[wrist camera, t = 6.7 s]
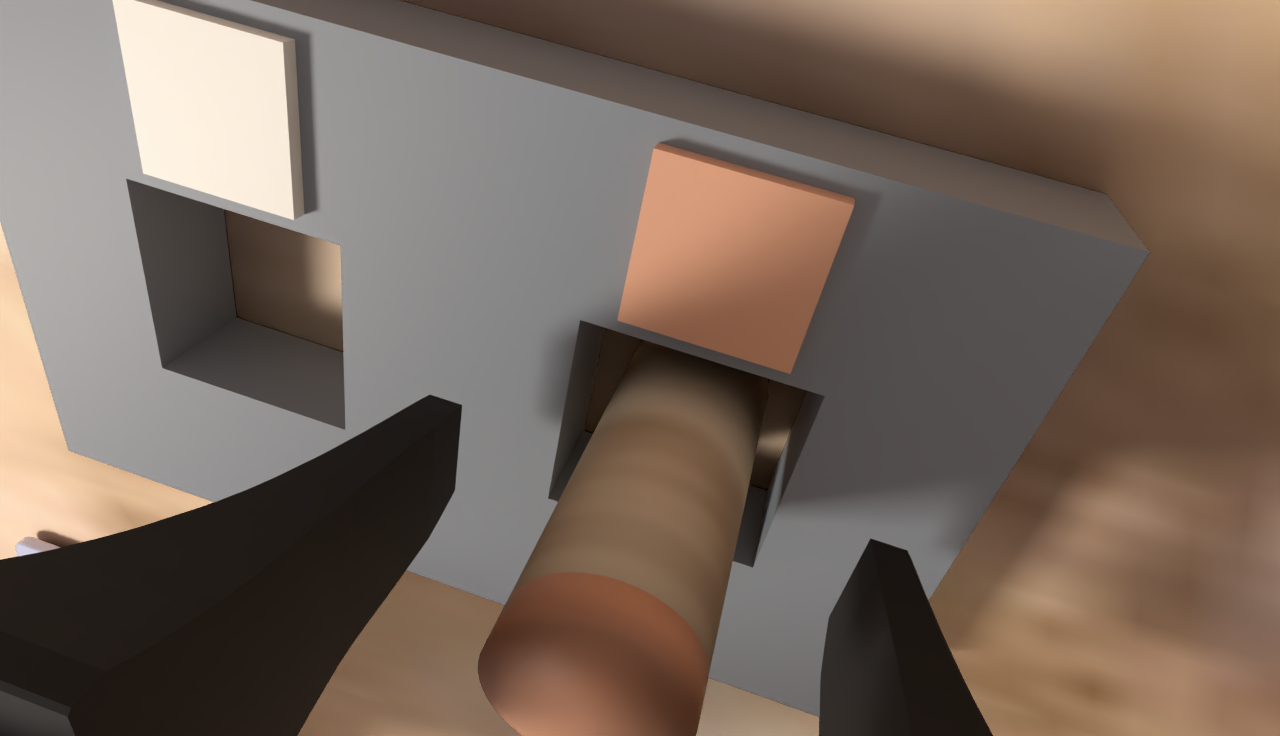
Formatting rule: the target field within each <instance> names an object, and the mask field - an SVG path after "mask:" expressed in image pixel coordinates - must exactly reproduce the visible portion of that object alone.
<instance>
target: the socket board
mask: <svg viewBox="0 0 1280 736" xmlns="http://www.w3.org/2000/svg"><path fill="white" fill-rule="evenodd" d="M224 209H226V210H229V211H232V212H235V213H238V214H242V215H245V216H248V217H251V218H254V219H258V220H261V221H264V222H267V223H270V224H274V225H277V226H280V227H283V228H287V229H290V230H293V231H296V232H299V233H303V234H306V235H309V236H312V237H315V238H319V239H322V240H325V241H328V242H331V243H335V244H338V245H341V281H342V318H343V352H341V351H338V350H334V349H331V348H328V347H325V346H322V345H319V344H316V343H313V342H310V341H307V340H304V339H301V338H298V337H295V336H292V335H289V334H286V333H282V332H279V331H276V330H273V329H270V328H267V327H264V326H261V325H258V324H255V323H252V322H249V321H246V320H243V319H240V318H237V317H236V309H235V301H234V292H233V284H232V275H231V267H230V258H229V250H228V241H227V233H226V224H225V216H224ZM0 222H1V225H2V229H3V232H4V235H5V239H6V242H7V245H8V249H9V252H10V255H11V259H12V262H13V266H14V269H15V272H16V276H17V279H18V282H19V286H20V289H21V292H22V296H23V299H24V303H25V306H26V309H27V313H28V316H29V319H30V323H31V326H32V329H33V333H34V336H35V340H36V343H37V346H38V350H39V353H40V356H41V360H42V363H43V366H44V370H45V373H46V377H47V380H48V383H49V387H50V390H51V393H52V397H53V400H54V403H55V407H56V410H57V413H58V417H59V420H60V424H61V427H62V430H63V434H64V437H65V440H66V444H67V447H68V450H69V451H71V452H74V453H77V454H80V455H82V456H85V457H88V458H91V459H94V460H96V461H99V462H102V463H105V464H108V465H111V466H113V467H116V468H119V469H122V470H125V471H127V472H130V473H133V474H136V475H139V476H142V477H144V478H147V479H150V480H153V481H156V482H158V483H161V484H164V485H167V486H170V487H173V488H175V489H178V490H181V491H184V492H187V493H189V494H192V495H195V496H198V497H201V498H204V499H206V500H209V501H212V502H216V501H219V500H222V499H224V498H227V497H229V496H232V495H234V494H237V493H240V492H242V491H245V490H247V489H249V488H252V487H254V486H256V485H259V484H261V483H263V482H266V481H268V480H270V479H272V478H274V477H277V476H279V475H281V474H283V473H285V472H287V471H289V470H291V469H293V468H295V467H297V466H299V465H301V464H303V463H305V462H308V461H310V460H312V459H314V458H316V457H318V456H320V455H322V454H324V453H325V452H327V451H329V450H331V449H333V448H335V447H337V446H338V445H340V444H342V443H344V442H346V441H348V440H350V439H351V438H353V437H355V436H357V435H359V434H361V433H362V432H364V431H366V430H368V429H369V428H371V427H373V426H375V425H377V424H378V423H380V422H382V421H384V420H385V419H387V418H389V417H390V416H392V415H394V414H396V413H397V412H399V411H401V410H403V409H404V408H406V407H408V406H410V405H411V404H413V403H415V402H417V401H419V400H420V399H422V398H424V397H426V396H428V395H433V396H436V397H439V398H442V399H445V400H448V401H451V402H455V403H458V404H461V405H462V414H461V426H460V437H459V449H458V461H457V473H456V485H455V491H454V493H453V495H452V497H451V499H450V501H449V503H448V504H447V506H446V508H445V510H444V512H443V514H442V516H441V518H440V519H439V521H438V523H437V525H436V526H435V528H434V530H433V532H432V533H431V535H430V537H429V539H428V540H427V542H426V543H425V544H424V546H423V547H422V549H421V550H420V551H419V553H418V554H417V556H416V557H415V558H414V560H413V561H412V563H411V564H410V565H409V567H408V568H407V569H406V571H409V572H412V573H415V574H418V575H421V576H423V577H426V578H429V579H432V580H435V581H437V582H440V583H443V584H446V585H449V586H452V587H454V588H457V589H460V590H463V591H466V592H468V593H471V594H474V595H477V596H480V597H483V598H485V599H488V600H491V601H494V602H497V603H499V604H502V605H505V604H506V602H507V600H508V598H509V596H510V594H511V593H512V591H513V589H514V587H515V585H516V583H517V581H518V579H519V577H520V575H521V573H522V571H523V569H524V567H525V565H526V563H527V561H528V559H529V558H530V556H531V554H532V552H533V550H534V548H535V546H536V544H537V542H538V540H539V538H540V536H541V534H542V532H543V530H544V528H545V526H546V524H547V522H548V521H549V519H550V517H551V515H552V513H553V511H554V509H555V507H556V505H557V503H558V501H559V499H560V497H561V495H562V493H563V491H564V489H565V487H566V486H567V484H568V482H569V480H570V478H571V476H572V474H573V472H574V470H575V468H576V466H577V464H578V462H579V460H580V458H581V456H582V454H583V452H584V450H585V449H586V447H587V445H588V443H589V441H590V439H591V437H592V435H593V434H592V433H588V432H585V431H584V428H585V423H586V418H587V413H588V408H589V403H590V398H591V393H592V388H593V383H594V379H595V374H596V369H597V364H598V359H599V354H600V349H601V344H602V339H603V334H604V329H605V328H608V329H611V330H614V331H617V332H620V333H624V334H627V335H630V336H633V337H636V338H640V339H643V340H646V341H649V342H652V343H656V344H659V345H662V346H665V347H668V348H672V349H675V350H678V351H681V352H685V353H688V354H691V355H694V356H697V357H701V358H704V359H707V360H710V361H713V362H717V363H720V364H723V365H726V366H729V367H733V368H736V369H739V370H742V371H746V372H749V373H752V374H755V375H758V376H762V377H765V378H768V379H771V380H774V381H778V382H781V383H784V384H787V385H790V386H794V387H797V388H800V389H803V390H807V392H806V394H805V397H804V399H803V402H802V404H801V407H800V409H799V412H798V414H797V417H796V419H795V422H794V424H793V427H792V429H791V432H790V434H789V437H788V439H787V442H786V444H785V447H784V449H783V452H782V454H781V457H780V459H779V462H778V464H777V467H776V469H775V472H774V474H773V477H772V479H771V482H770V484H769V487H768V489H767V491H766V490H763V489H760V488H757V487H754V486H751V485H749V487H748V492H747V496H746V501H745V506H744V511H743V515H742V520H741V525H740V530H739V534H738V539H737V544H736V549H735V553H734V558H733V563H732V567H731V572H730V577H729V582H728V586H727V591H726V596H725V601H724V605H723V610H722V615H721V620H720V624H719V629H718V634H717V639H716V643H715V648H714V653H713V657H712V662H711V667H710V672H709V676H708V678H711V679H714V680H716V681H719V682H722V683H725V684H728V685H731V686H733V687H736V688H739V689H742V690H745V691H747V692H750V693H753V694H756V695H759V696H762V697H764V698H767V699H770V700H773V701H776V702H778V703H781V704H784V705H787V706H790V707H793V708H795V709H798V710H801V711H804V712H807V713H809V714H812V715H815V716H818V717H820V679H821V668H822V661H823V653H824V646H825V639H826V633H827V626H828V620H829V616H830V614H831V612H832V610H833V608H834V606H835V605H836V603H837V601H838V599H839V597H840V595H841V593H842V591H843V589H844V588H845V586H846V584H847V582H848V580H849V578H850V576H851V574H852V572H853V571H854V569H855V567H856V565H857V563H858V561H859V559H860V557H861V555H862V554H863V552H864V550H865V548H866V546H867V544H868V542H869V540H870V538H871V539H874V540H877V541H880V542H883V543H886V544H889V545H892V546H895V547H898V548H902V549H905V550H907V551H908V553H909V555H910V557H911V559H912V561H913V564H914V566H915V569H916V571H917V574H918V576H919V579H920V581H921V584H922V586H923V589H924V591H925V594H926V596H927V598H928V601H929V599H930V598H931V596H932V594H933V593H934V591H935V590H936V588H937V587H938V585H939V583H940V582H941V580H942V579H943V577H944V576H945V574H946V572H947V571H948V569H949V568H950V566H951V564H952V563H953V561H954V560H955V558H956V557H957V555H958V553H959V552H960V550H961V549H962V547H963V546H964V544H965V542H966V541H967V539H968V538H969V536H970V535H971V533H972V531H973V530H974V528H975V527H976V525H977V524H978V522H979V520H980V519H981V517H982V516H983V514H984V513H985V511H986V509H987V508H988V506H989V505H990V503H991V502H992V500H993V498H994V497H995V495H996V494H997V492H998V491H999V489H1000V487H1001V486H1002V484H1003V483H1004V481H1005V480H1006V478H1007V476H1008V475H1009V473H1010V472H1011V470H1012V468H1013V467H1014V465H1015V464H1016V462H1017V461H1018V459H1019V457H1020V456H1021V454H1022V453H1023V451H1024V450H1025V448H1026V446H1027V445H1028V443H1029V442H1030V440H1031V439H1032V437H1033V435H1034V434H1035V432H1036V431H1037V429H1038V428H1039V426H1040V424H1041V423H1042V421H1043V420H1044V418H1045V417H1046V415H1047V413H1048V412H1049V410H1050V409H1051V407H1052V406H1053V404H1054V402H1055V401H1056V399H1057V398H1058V396H1059V395H1060V393H1061V391H1062V390H1063V388H1064V387H1065V385H1066V383H1067V382H1068V380H1069V379H1070V377H1071V376H1072V374H1073V372H1074V371H1075V369H1076V368H1077V366H1078V365H1079V363H1080V361H1081V360H1082V358H1083V357H1084V355H1085V354H1086V352H1087V350H1088V349H1089V347H1090V346H1091V344H1092V343H1093V341H1094V339H1095V338H1096V336H1097V335H1098V333H1099V332H1100V330H1101V328H1102V327H1103V325H1104V324H1105V322H1106V321H1107V319H1108V317H1109V316H1110V314H1111V313H1112V311H1113V310H1114V308H1115V306H1116V305H1117V303H1118V302H1119V300H1120V298H1121V297H1122V295H1123V294H1124V292H1125V291H1126V289H1127V287H1128V286H1129V284H1130V283H1131V281H1132V280H1133V278H1134V276H1135V275H1136V273H1137V272H1138V270H1139V269H1140V267H1141V265H1142V264H1143V262H1144V261H1145V259H1146V258H1147V256H1148V254H1149V253H1150V252H1149V250H1148V249H1147V247H1146V246H1145V245H1144V243H1143V242H1142V241H1141V239H1140V238H1139V237H1138V235H1137V234H1136V233H1135V231H1134V230H1133V229H1132V227H1131V226H1130V225H1129V223H1128V222H1127V221H1126V219H1125V218H1124V217H1123V215H1122V214H1121V212H1120V211H1119V210H1118V208H1117V207H1116V206H1115V204H1114V203H1113V202H1112V200H1111V199H1110V198H1109V196H1108V195H1107V194H1104V193H1100V192H1097V191H1093V190H1089V189H1086V188H1082V187H1078V186H1075V185H1071V184H1067V183H1064V182H1060V181H1056V180H1053V179H1049V178H1046V177H1042V176H1038V175H1035V174H1031V173H1027V172H1024V171H1020V170H1016V169H1013V168H1009V167H1005V166H1002V165H998V164H994V163H991V162H987V161H984V160H980V159H976V158H973V157H969V156H965V155H962V154H958V153H954V152H951V151H947V150H943V149H940V148H936V147H932V146H929V145H925V144H922V143H918V142H914V141H911V140H907V139H903V138H900V137H896V136H892V135H889V134H885V133H881V132H878V131H874V130H870V129H867V128H863V127H860V126H856V125H852V124H849V123H845V122H841V121H838V120H834V119H830V118H827V117H823V116H819V115H816V114H812V113H808V112H805V111H801V110H797V109H794V108H790V107H787V106H783V105H779V104H776V103H772V102H768V101H765V100H761V99H757V98H754V97H750V96H746V95H743V94H739V93H735V92H732V91H728V90H725V89H721V88H717V87H714V86H710V85H706V84H703V83H699V82H695V81H692V80H688V79H684V78H681V77H677V76H673V75H670V74H666V73H663V72H659V71H655V70H652V69H648V68H644V67H641V66H637V65H633V64H630V63H626V62H622V61H619V60H615V59H611V58H608V57H604V56H600V55H597V54H593V53H590V52H586V51H582V50H579V49H575V48H571V47H568V46H564V45H560V44H557V43H553V42H549V41H546V40H542V39H538V38H535V37H531V36H528V35H524V34H520V33H517V32H513V31H509V30H506V29H502V28H498V27H495V26H491V25H487V24H484V23H480V22H476V21H473V20H469V19H466V18H462V17H458V16H455V15H451V14H447V13H444V12H440V11H436V10H433V9H429V8H425V7H422V6H418V5H414V4H411V3H407V2H404V1H400V0H0Z"/></svg>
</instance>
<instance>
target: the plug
mask: <svg viewBox="0 0 1280 736" xmlns="http://www.w3.org/2000/svg"><path fill="white" fill-rule="evenodd" d="M767 396H768V381H767V378H765V377H762V376H758V375H755V374H752V373H749V372H746V371H742V370H739V369H736V368H733V367H729V366H726V365H723V364H720V363H717V362H713V361H710V360H707V359H704V358H701V357H697V356H694V355H691V354H688V353H685V352H681V351H678V350H675V349H672V348H668V347H665V346H662V345H659V344H656V343H652V342H649V341H646V340H643V342H642V343H641V344H640V345H639V347H638V348H637V349H636V351H635V353H634V355H633V357H632V359H631V361H630V363H629V365H628V367H627V369H626V371H625V373H624V375H623V377H622V378H621V380H620V382H619V384H618V386H617V388H616V390H615V392H614V394H613V396H612V398H611V400H610V402H609V404H608V406H607V408H606V410H605V412H604V414H603V415H602V417H601V419H600V421H599V423H598V425H597V427H596V429H595V431H594V433H593V435H592V437H591V439H590V441H589V443H588V445H587V447H586V449H585V450H584V452H583V454H582V456H581V458H580V460H579V462H578V464H577V466H576V468H575V470H574V472H573V474H572V476H571V478H570V480H569V482H568V484H567V486H566V487H565V489H564V491H563V493H562V495H561V497H560V499H559V501H558V503H557V505H556V507H555V509H554V511H553V513H552V515H551V517H550V519H549V521H548V522H547V524H546V526H545V528H544V530H543V532H542V534H541V536H540V538H539V540H538V542H537V544H536V546H535V548H534V550H533V552H532V554H531V556H530V558H529V559H528V561H527V563H526V565H525V567H524V569H523V571H522V573H521V575H520V577H519V579H518V581H517V583H516V585H515V587H514V589H513V591H512V593H511V594H510V596H509V598H508V600H507V602H506V604H505V606H504V608H503V610H502V612H501V614H500V616H499V618H498V620H497V622H496V624H495V626H494V628H493V630H492V631H491V633H490V635H489V637H488V639H487V641H486V643H485V645H484V647H483V649H482V651H481V653H480V657H479V661H478V674H479V679H480V683H481V686H482V688H483V691H484V693H485V695H486V697H487V699H488V700H489V702H490V703H491V705H492V706H493V708H494V709H495V710H496V711H497V712H498V714H499V715H500V716H501V717H502V718H503V719H504V720H505V721H506V722H507V723H508V724H509V725H510V726H511V727H512V728H514V729H515V730H516V731H517V732H518V733H520V734H521V735H522V736H696V733H697V728H698V724H699V719H700V714H701V710H702V705H703V700H704V695H705V691H706V686H707V681H708V676H709V672H710V667H711V662H712V657H713V653H714V648H715V643H716V639H717V634H718V629H719V624H720V620H721V615H722V610H723V605H724V601H725V596H726V591H727V586H728V582H729V577H730V572H731V567H732V563H733V558H734V553H735V549H736V544H737V539H738V534H739V530H740V525H741V520H742V515H743V511H744V506H745V501H746V496H747V492H748V487H749V482H750V478H751V473H752V468H753V463H754V459H755V454H756V449H757V444H758V440H759V435H760V430H761V425H762V421H763V416H764V411H765V406H766V402H767Z"/></svg>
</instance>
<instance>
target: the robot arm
mask: <svg viewBox="0 0 1280 736" xmlns="http://www.w3.org/2000/svg"><path fill="white" fill-rule="evenodd" d="M461 414H462V405H461V404H458V403H455V402H451V401H448V400H445V399H442V398H439V397H436V396H433V395H428V396H426V397H424V398H422V399H420V400H419V401H417V402H415V403H413V404H411V405H410V406H408V407H406V408H404V409H403V410H401V411H399V412H397V413H396V414H394V415H392V416H390V417H389V418H387V419H385V420H384V421H382V422H380V423H378V424H377V425H375V426H373V427H371V428H369V429H368V430H366V431H364V432H362V433H361V434H359V435H357V436H355V437H353V438H351V439H350V440H348V441H346V442H344V443H342V444H340V445H338V446H337V447H335V448H333V449H331V450H329V451H327V452H325V453H324V454H322V455H320V456H318V457H316V458H314V459H312V460H310V461H308V462H305V463H303V464H301V465H299V466H297V467H295V468H293V469H291V470H289V471H287V472H285V473H283V474H281V475H279V476H277V477H274V478H272V479H270V480H268V481H266V482H263V483H261V484H259V485H256V486H254V487H252V488H249V489H247V490H245V491H242V492H240V493H237V494H234V495H232V496H229V497H227V498H224V499H222V500H219V501H216V502H214V503H211V504H208V505H206V506H203V507H200V508H197V509H194V510H191V511H188V512H185V513H182V514H179V515H175V516H172V517H169V518H166V519H163V520H160V521H157V522H154V523H151V524H148V525H145V526H141V527H138V528H135V529H131V530H128V531H124V532H120V533H117V534H113V535H109V536H106V537H102V538H98V539H94V540H90V541H86V542H82V543H78V544H74V545H70V546H65V547H58V546H56V545H53V544H50V543H48V542H45V541H42V540H39V539H37V538H34V537H25V538H24V539H22V540H21V541H20V542H18V543H17V544H16V552H17V555H18V557H13V558H7V559H2V560H0V736H297V735H298V733H299V732H300V730H301V728H302V726H303V725H304V723H305V721H306V719H307V717H308V716H309V714H310V712H311V711H312V709H313V707H314V705H315V704H316V702H317V700H318V699H319V697H320V695H321V694H322V692H323V690H324V688H325V687H326V685H327V683H328V682H329V680H330V678H331V677H332V675H333V673H334V671H335V670H336V668H337V666H338V665H339V663H340V662H341V660H342V659H343V657H344V656H345V654H346V653H347V651H348V650H349V648H350V647H351V645H352V644H353V642H354V641H355V639H356V638H357V636H358V635H359V634H360V632H361V631H362V630H363V628H364V627H365V626H366V624H367V623H368V621H369V620H370V619H371V617H372V616H373V615H374V613H375V612H376V611H377V609H378V608H379V606H380V605H381V604H382V602H383V601H384V600H385V598H386V597H387V596H388V594H389V593H390V591H391V590H392V589H393V587H394V586H395V585H396V583H397V582H398V581H399V579H400V578H401V576H402V575H403V574H404V572H405V571H406V569H407V568H408V567H409V565H410V564H411V563H412V561H413V560H414V558H415V557H416V556H417V554H418V553H419V551H420V550H421V549H422V547H423V546H424V544H425V543H426V542H427V540H428V539H429V537H430V535H431V533H432V532H433V530H434V528H435V526H436V525H437V523H438V521H439V519H440V518H441V516H442V514H443V512H444V510H445V508H446V506H447V504H448V503H449V501H450V499H451V497H452V495H453V493H454V491H455V485H456V473H457V461H458V449H459V437H460V426H461ZM819 736H993V735H992V733H991V731H990V729H989V727H988V725H987V724H986V722H985V720H984V718H983V716H982V714H981V712H980V710H979V708H978V707H977V705H976V703H975V701H974V699H973V697H972V695H971V693H970V691H969V689H968V687H967V685H966V683H965V681H964V679H963V677H962V675H961V673H960V670H959V668H958V666H957V664H956V662H955V660H954V658H953V655H952V653H951V651H950V649H949V647H948V645H947V643H946V640H945V638H944V636H943V634H942V631H941V629H940V627H939V625H938V622H937V620H936V617H935V615H934V613H933V610H932V608H931V606H930V603H929V601H928V598H927V596H926V594H925V591H924V589H923V586H922V584H921V581H920V579H919V576H918V574H917V571H916V569H915V566H914V564H913V561H912V559H911V557H910V555H909V553H908V551H907V550H905V549H902V548H898V547H895V546H892V545H889V544H886V543H883V542H880V541H877V540H874V539H871V538H870V540H869V542H868V544H867V546H866V548H865V550H864V552H863V554H862V555H861V557H860V559H859V561H858V563H857V565H856V567H855V569H854V571H853V572H852V574H851V576H850V578H849V580H848V582H847V584H846V586H845V588H844V589H843V591H842V593H841V595H840V597H839V599H838V601H837V603H836V605H835V606H834V608H833V610H832V612H831V614H830V616H829V620H828V626H827V633H826V639H825V646H824V653H823V661H822V668H821V679H820V721H819Z"/></svg>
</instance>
